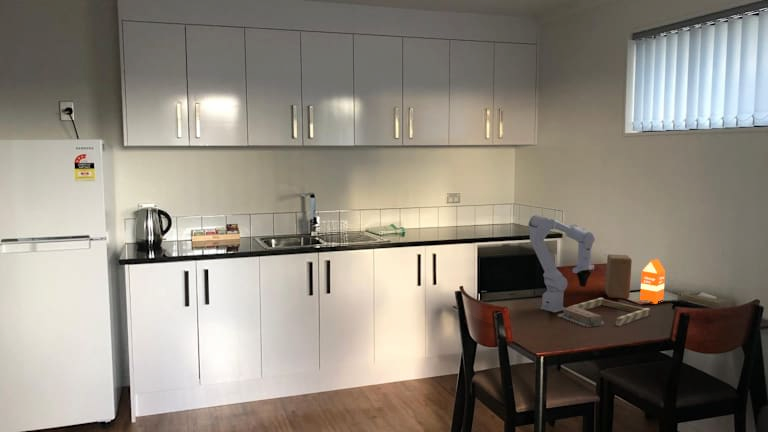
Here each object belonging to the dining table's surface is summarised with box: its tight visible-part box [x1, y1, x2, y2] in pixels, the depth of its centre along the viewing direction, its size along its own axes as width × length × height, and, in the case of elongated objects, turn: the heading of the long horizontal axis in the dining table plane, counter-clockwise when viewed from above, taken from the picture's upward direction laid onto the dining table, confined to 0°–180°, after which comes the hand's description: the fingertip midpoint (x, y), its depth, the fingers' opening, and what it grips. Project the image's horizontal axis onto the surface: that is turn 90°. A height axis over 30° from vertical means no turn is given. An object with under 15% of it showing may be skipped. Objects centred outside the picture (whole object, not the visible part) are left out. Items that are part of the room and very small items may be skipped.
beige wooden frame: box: [572, 297, 651, 327], centre depth 276 cm, size 26×24×3 cm
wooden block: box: [605, 254, 633, 299], centre depth 307 cm, size 10×10×20 cm
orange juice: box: [639, 258, 666, 305], centre depth 299 cm, size 8×9×20 cm
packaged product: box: [557, 305, 605, 328], centre depth 266 cm, size 18×5×10 cm
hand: (582, 286), depth 287 cm, fingers closed
